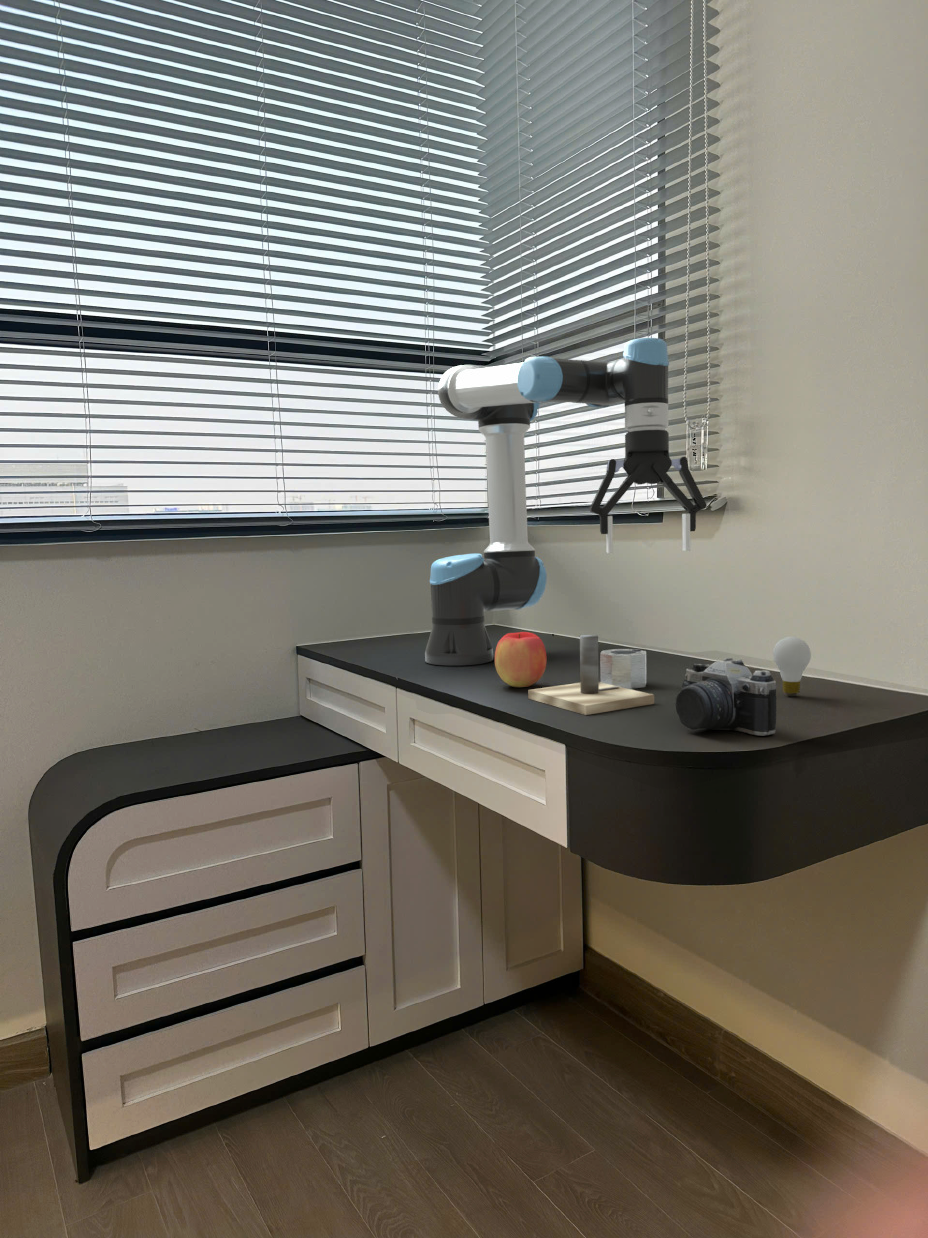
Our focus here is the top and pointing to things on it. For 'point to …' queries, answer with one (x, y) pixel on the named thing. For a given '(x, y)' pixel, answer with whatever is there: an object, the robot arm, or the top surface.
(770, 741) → the top surface
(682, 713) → the camera
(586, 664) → the shaft stand
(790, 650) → the light bulb
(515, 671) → the apple
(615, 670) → the hub
